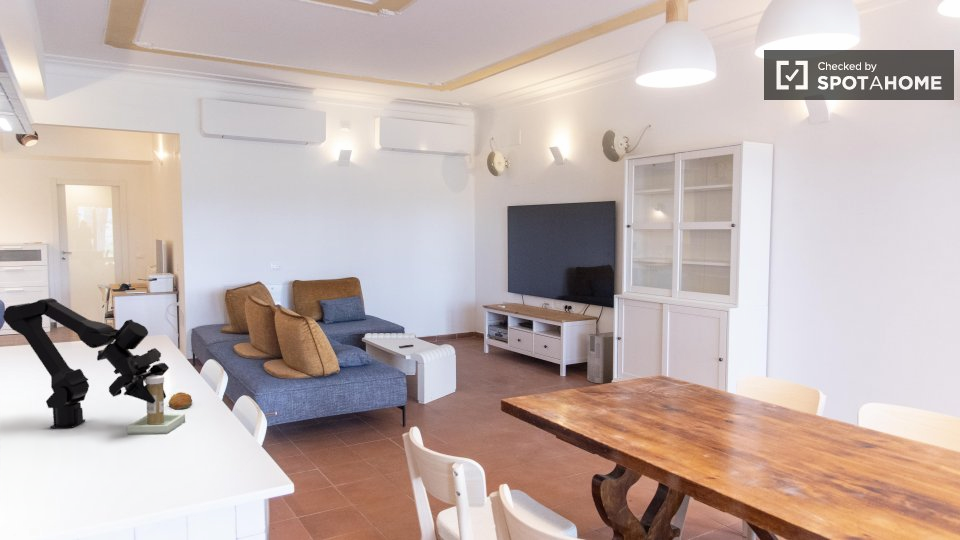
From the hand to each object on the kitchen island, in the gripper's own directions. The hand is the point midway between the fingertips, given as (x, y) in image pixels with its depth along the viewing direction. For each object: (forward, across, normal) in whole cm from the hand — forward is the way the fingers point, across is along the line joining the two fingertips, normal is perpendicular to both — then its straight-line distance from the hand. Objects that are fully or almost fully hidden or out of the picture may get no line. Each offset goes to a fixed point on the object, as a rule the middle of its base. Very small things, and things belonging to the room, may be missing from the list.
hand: (159, 400), depth 184 cm
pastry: (0, +22, +12) cm, 25 cm away
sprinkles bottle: (+4, 0, +6) cm, 7 cm away
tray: (+5, 0, +6) cm, 8 cm away
